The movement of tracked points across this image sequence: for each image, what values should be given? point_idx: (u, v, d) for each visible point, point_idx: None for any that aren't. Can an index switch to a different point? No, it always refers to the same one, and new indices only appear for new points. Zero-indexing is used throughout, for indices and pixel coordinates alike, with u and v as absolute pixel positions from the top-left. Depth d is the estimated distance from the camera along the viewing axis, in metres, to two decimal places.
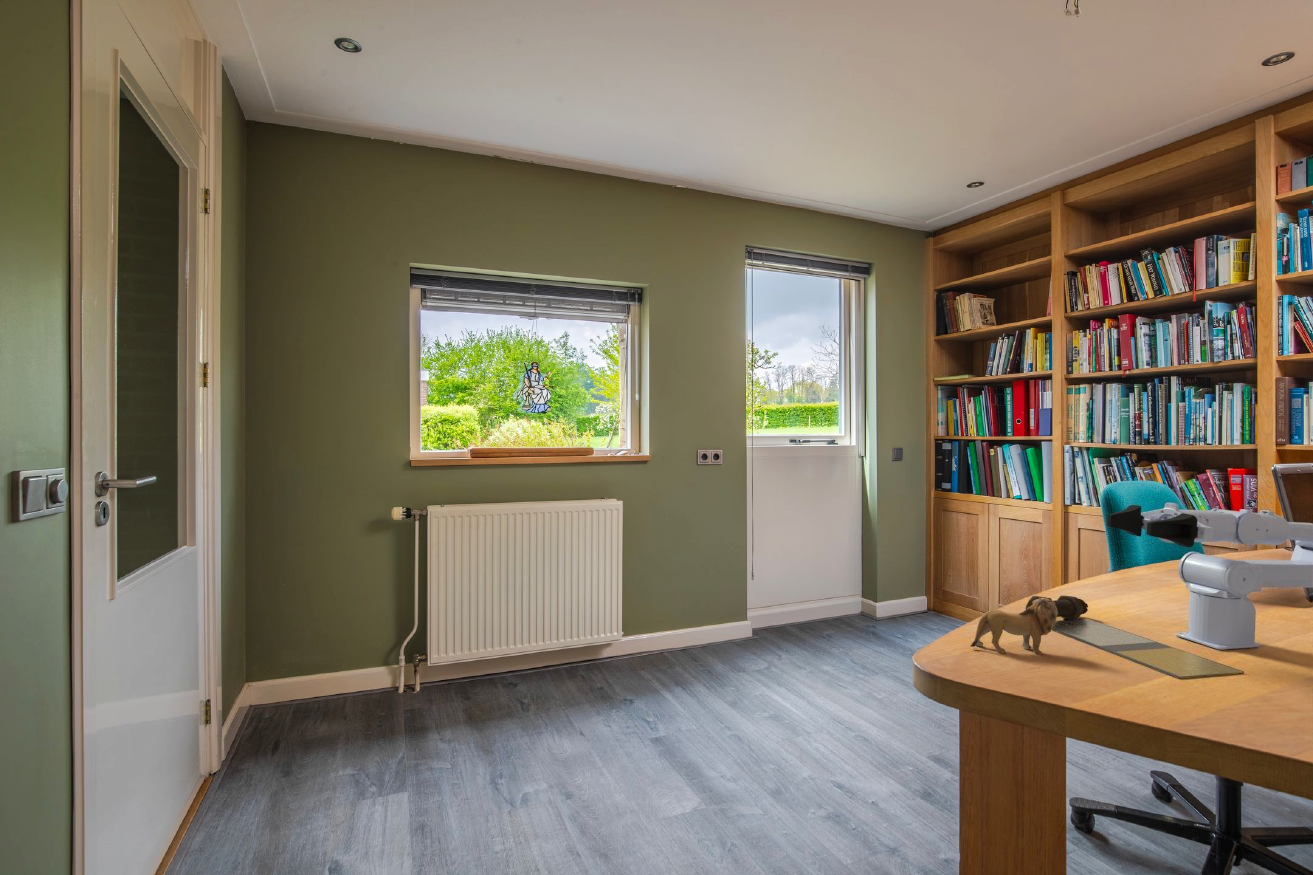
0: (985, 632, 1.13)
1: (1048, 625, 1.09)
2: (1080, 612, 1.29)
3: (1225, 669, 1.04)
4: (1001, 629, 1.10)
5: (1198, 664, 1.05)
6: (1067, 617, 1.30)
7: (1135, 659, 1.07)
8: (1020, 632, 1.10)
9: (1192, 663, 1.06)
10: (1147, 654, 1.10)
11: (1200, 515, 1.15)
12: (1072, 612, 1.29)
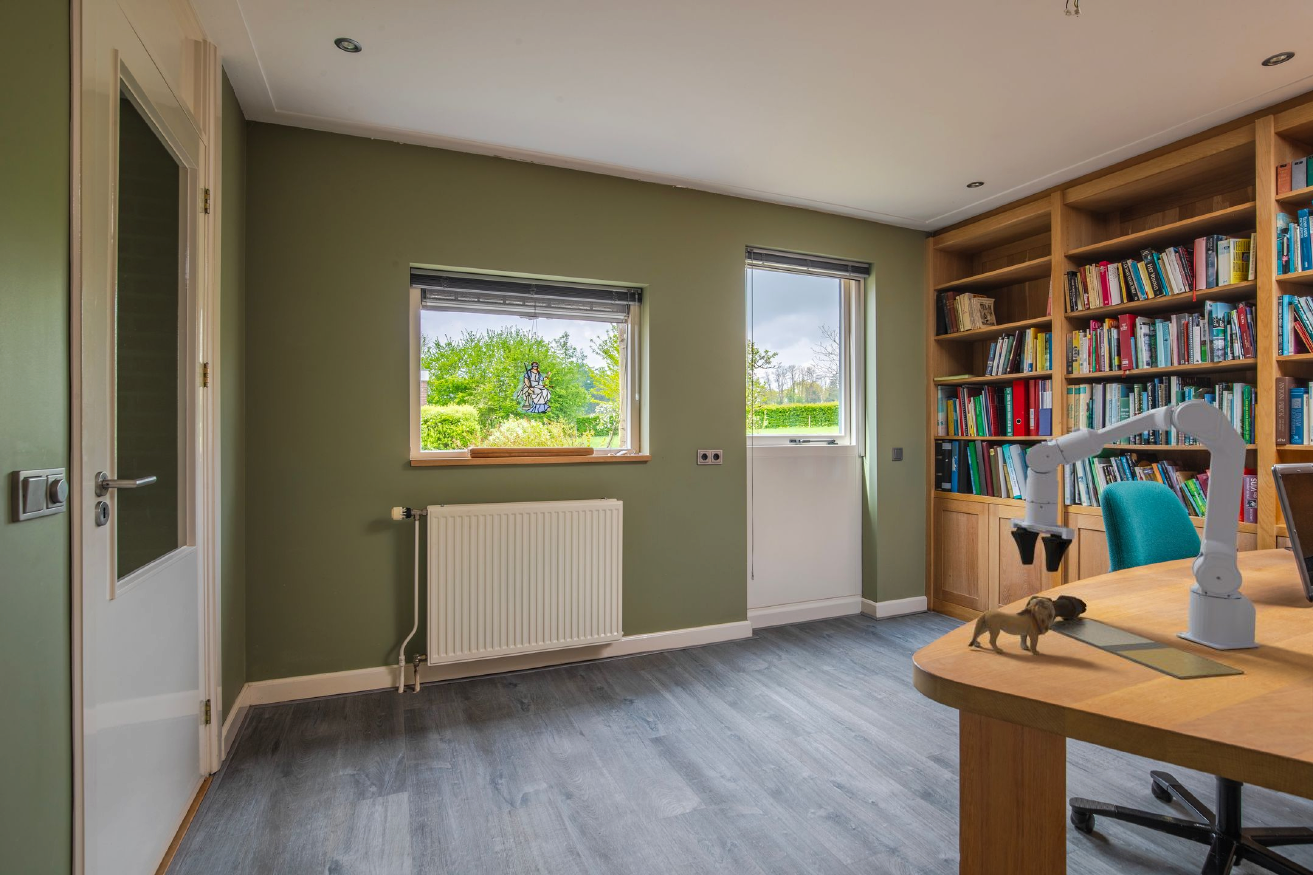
0: (982, 632, 1.13)
1: (1046, 625, 1.09)
2: (1079, 612, 1.29)
3: (1225, 669, 1.04)
4: (998, 629, 1.10)
5: (1198, 664, 1.05)
6: (1066, 617, 1.30)
7: (1135, 659, 1.07)
8: (1017, 632, 1.10)
9: (1192, 663, 1.06)
10: (1147, 654, 1.10)
11: (1039, 505, 1.32)
12: (1071, 612, 1.29)
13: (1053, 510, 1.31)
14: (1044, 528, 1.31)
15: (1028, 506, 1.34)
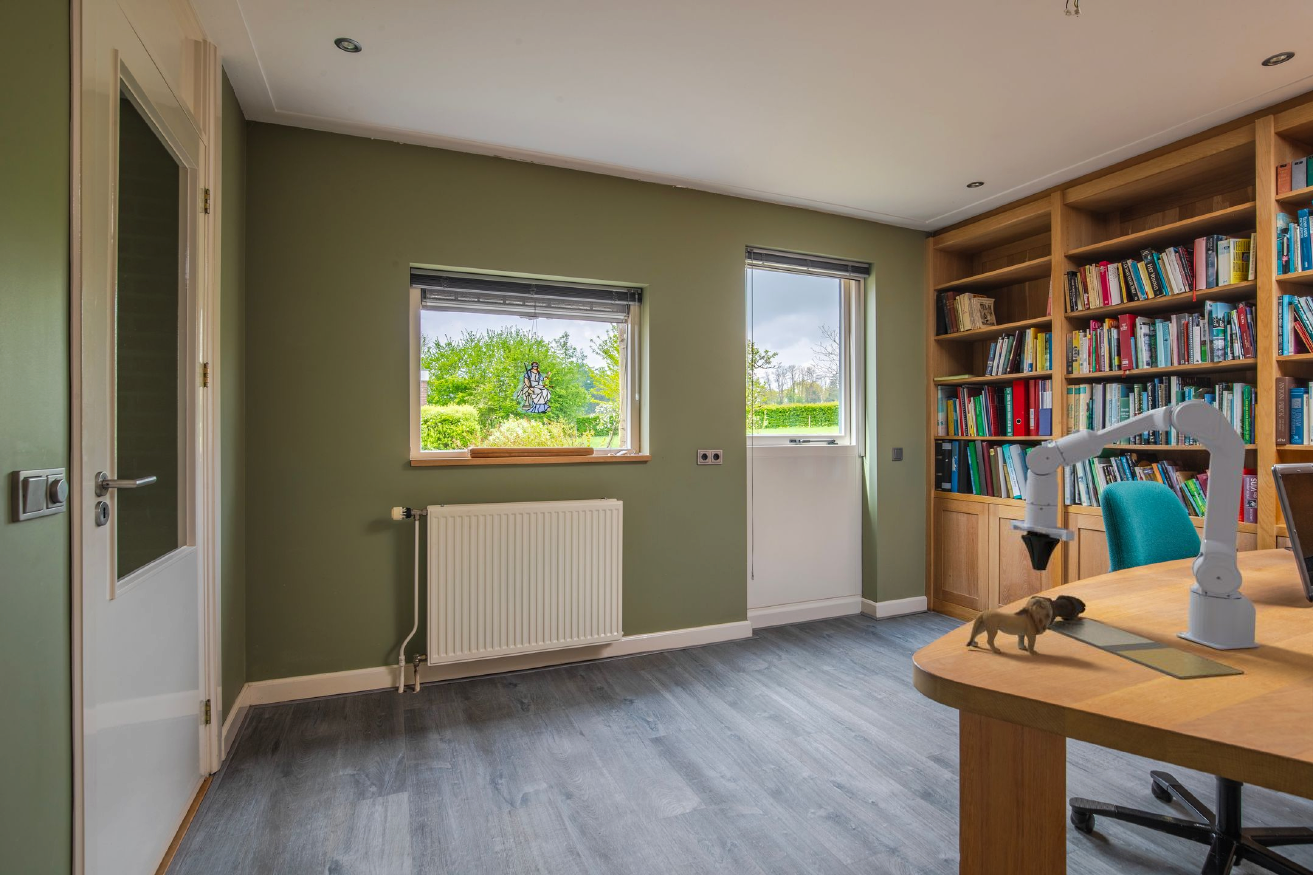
0: (980, 632, 1.13)
1: (1043, 625, 1.09)
2: (1078, 612, 1.29)
3: (1225, 669, 1.04)
4: (996, 629, 1.10)
5: (1198, 664, 1.05)
6: (1065, 617, 1.30)
7: (1135, 659, 1.07)
8: (1015, 632, 1.10)
9: (1192, 663, 1.06)
10: (1147, 654, 1.10)
11: (1039, 507, 1.32)
12: (1071, 612, 1.29)
13: (1053, 512, 1.31)
14: (1044, 530, 1.31)
15: (1028, 508, 1.34)
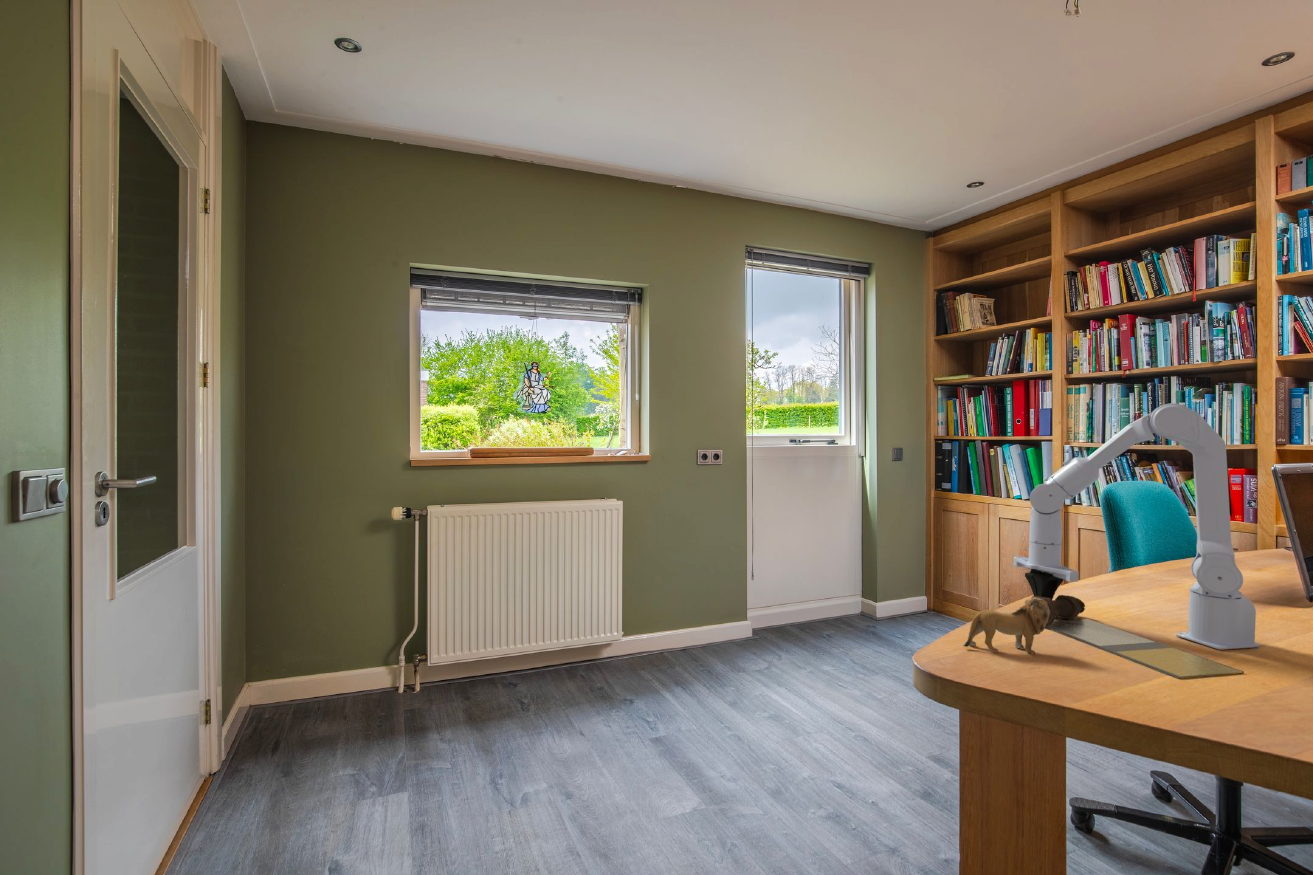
0: (978, 632, 1.13)
1: (1041, 624, 1.09)
2: (1078, 612, 1.29)
3: (1225, 669, 1.04)
4: (994, 629, 1.10)
5: (1198, 664, 1.05)
6: (1065, 617, 1.30)
7: (1135, 659, 1.07)
8: (1013, 632, 1.10)
9: (1192, 663, 1.06)
10: (1147, 654, 1.10)
11: (1043, 546, 1.31)
12: (1070, 612, 1.29)
13: (1057, 551, 1.30)
14: (1048, 569, 1.30)
15: (1031, 546, 1.33)
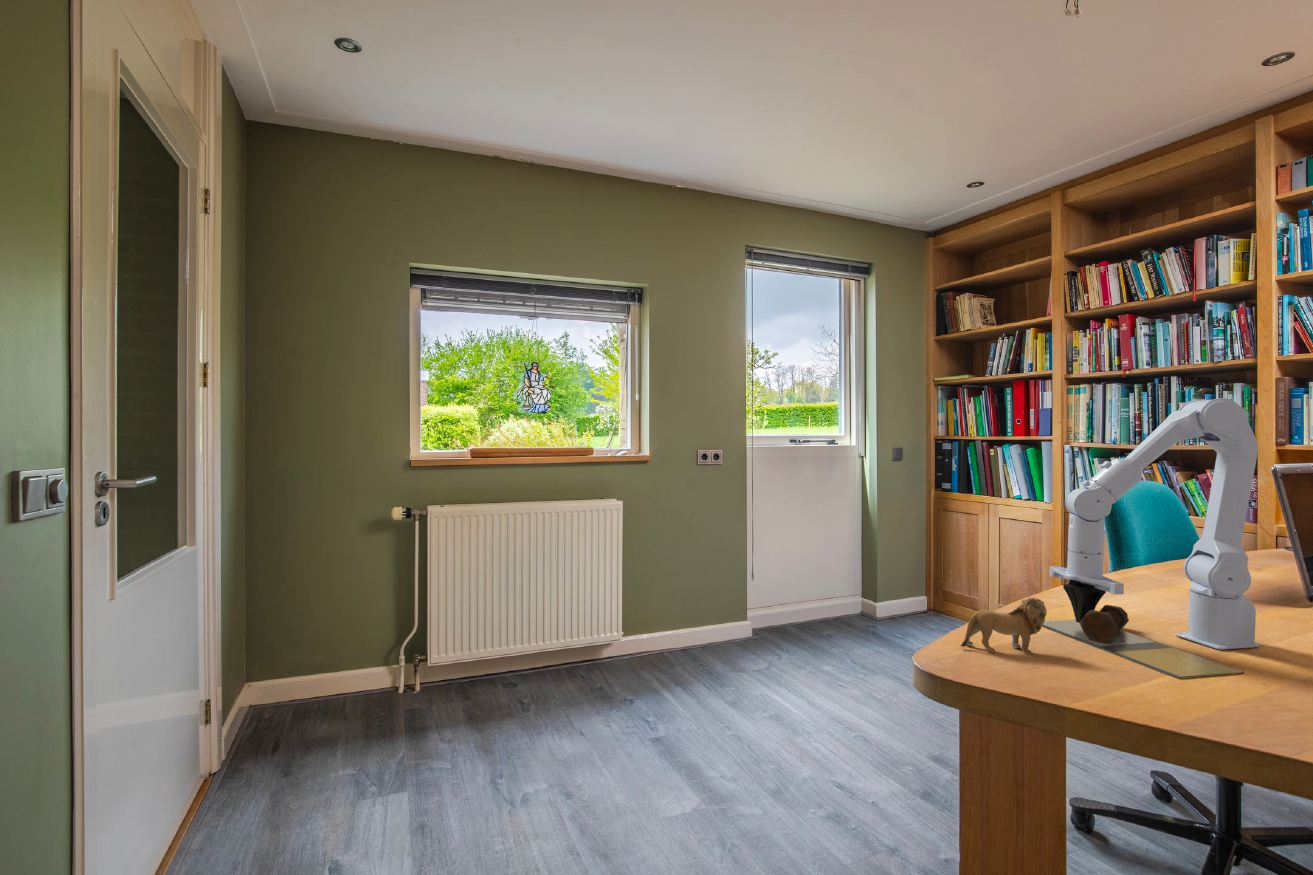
0: (975, 632, 1.13)
1: (1038, 624, 1.09)
2: (1125, 623, 1.22)
3: (1225, 669, 1.04)
4: (991, 629, 1.10)
5: (1198, 664, 1.05)
6: None
7: (1135, 659, 1.07)
8: (1010, 632, 1.10)
9: (1192, 663, 1.06)
10: (1147, 654, 1.10)
11: (1083, 556, 1.22)
12: (1119, 624, 1.21)
13: (1099, 561, 1.21)
14: (1089, 581, 1.20)
15: (1071, 556, 1.24)
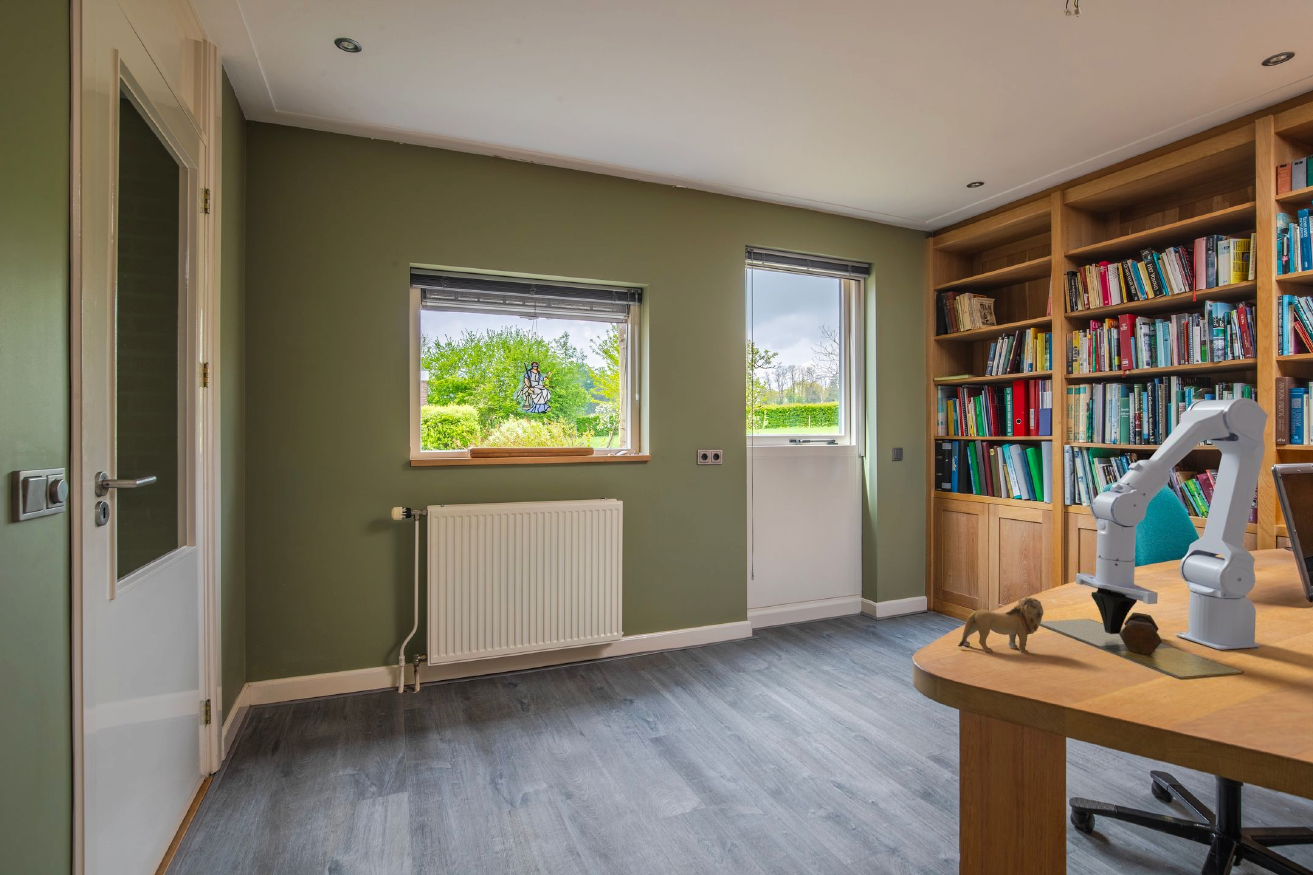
0: (972, 632, 1.13)
1: (1034, 624, 1.10)
2: None
3: (1225, 669, 1.04)
4: (988, 629, 1.10)
5: (1198, 664, 1.05)
6: None
7: (1135, 659, 1.07)
8: (1007, 631, 1.10)
9: (1192, 663, 1.06)
10: (1147, 654, 1.10)
11: (1114, 563, 1.15)
12: None
13: (1130, 569, 1.15)
14: (1120, 589, 1.14)
15: (1100, 563, 1.18)
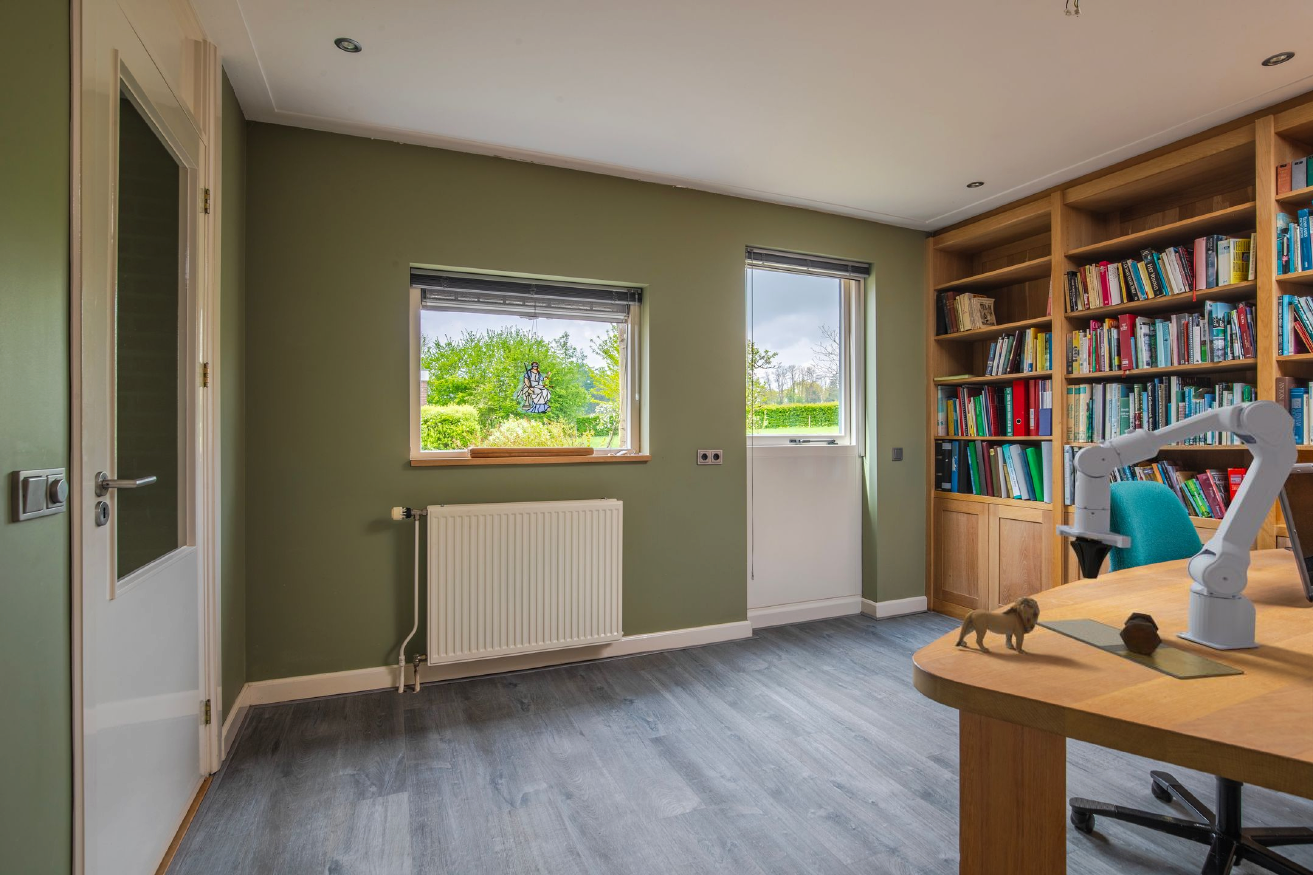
0: (969, 632, 1.13)
1: (1031, 624, 1.10)
2: None
3: (1225, 669, 1.04)
4: (985, 628, 1.10)
5: (1198, 664, 1.05)
6: None
7: (1135, 659, 1.07)
8: (1004, 631, 1.10)
9: (1192, 663, 1.06)
10: (1147, 654, 1.10)
11: (1091, 512, 1.24)
12: None
13: (1105, 517, 1.23)
14: (1097, 536, 1.23)
15: (1078, 512, 1.26)
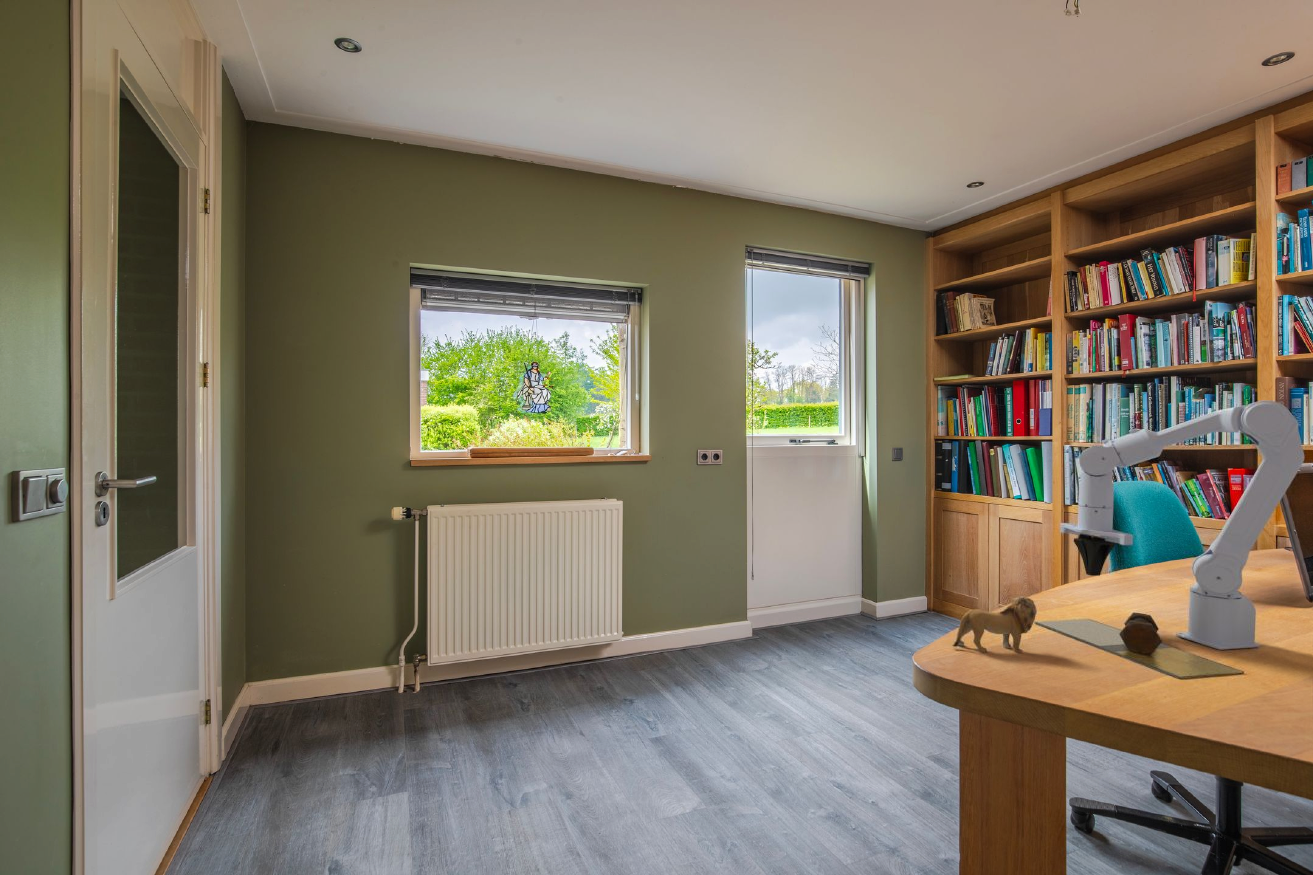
0: (966, 632, 1.13)
1: (1028, 623, 1.10)
2: None
3: (1225, 669, 1.04)
4: (983, 628, 1.10)
5: (1198, 664, 1.05)
6: None
7: (1135, 659, 1.07)
8: (1001, 631, 1.10)
9: (1192, 663, 1.06)
10: (1147, 654, 1.10)
11: (1094, 510, 1.26)
12: None
13: (1108, 515, 1.26)
14: (1099, 533, 1.25)
15: (1081, 510, 1.28)
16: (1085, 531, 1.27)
